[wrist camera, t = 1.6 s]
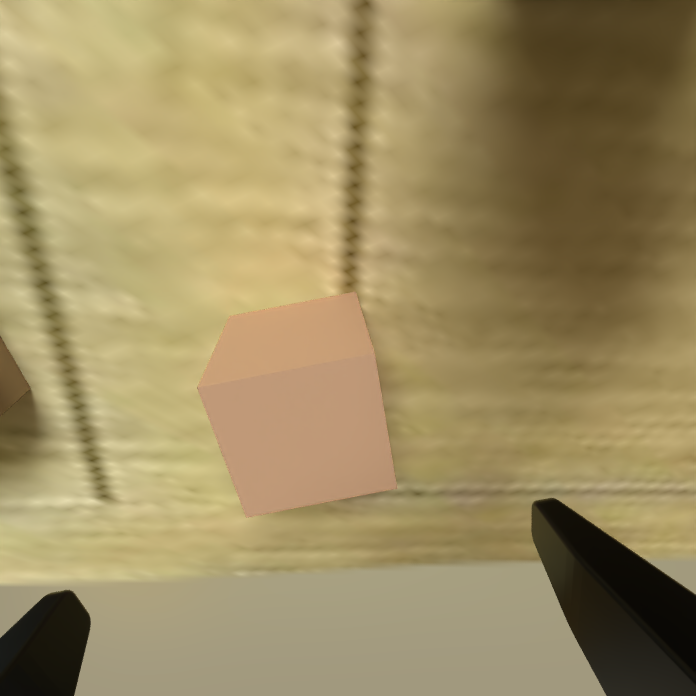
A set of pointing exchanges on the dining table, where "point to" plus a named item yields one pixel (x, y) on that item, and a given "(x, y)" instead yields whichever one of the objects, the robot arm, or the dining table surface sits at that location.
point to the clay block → (299, 405)
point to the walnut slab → (10, 380)
